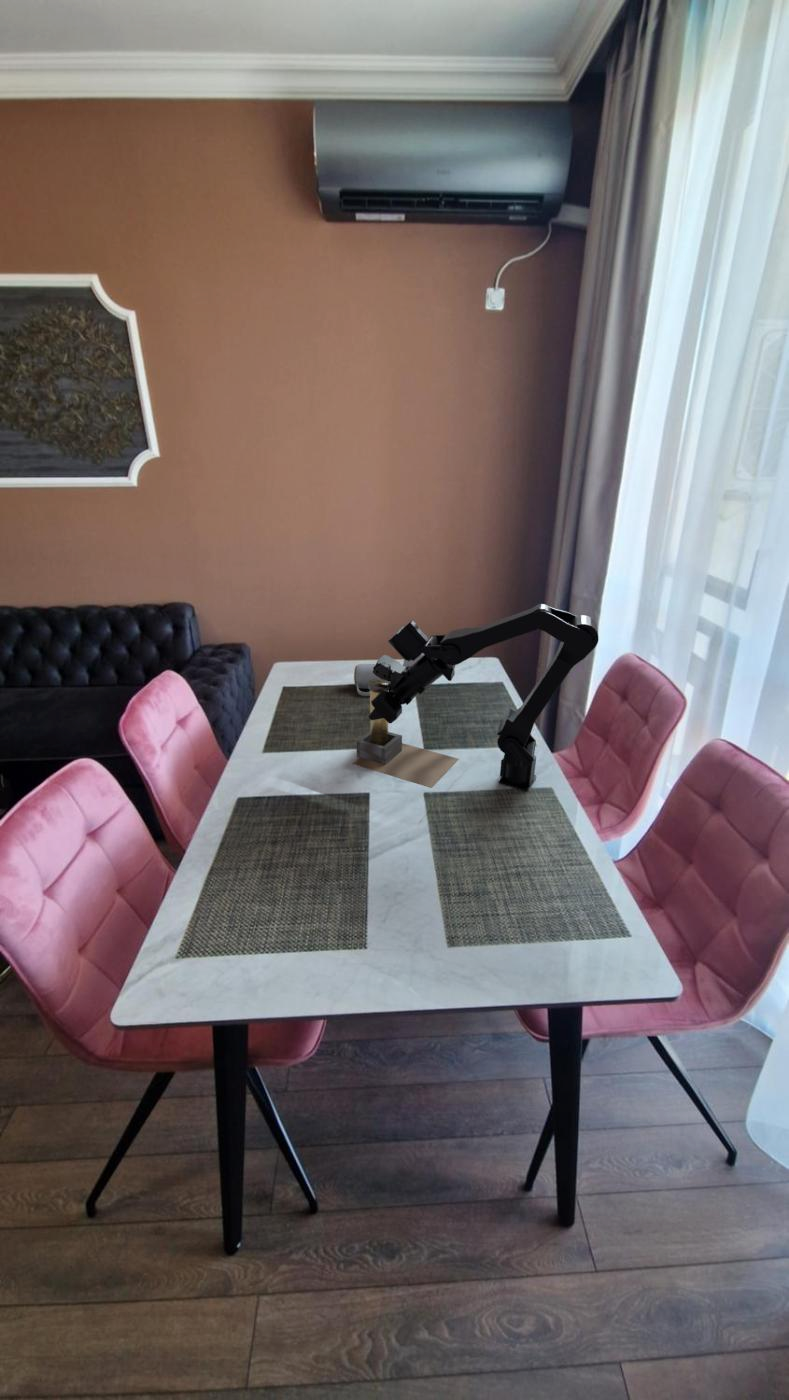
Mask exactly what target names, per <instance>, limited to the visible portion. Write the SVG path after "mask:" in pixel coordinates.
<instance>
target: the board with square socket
mask: <svg viewBox="0 0 789 1400" xmlns="http://www.w3.org/2000/svg"><path fill="white" fill-rule="evenodd" d="M356 757H358V759H356V760H354V762H352V763H351V764H352V765H355V766H358V767H362V768H364V769H368V770H372V771H375V772H379V773H381V774H384V775H388V776H392V777H394V778H398V779H400V780H404V781H408V782H412V783H415V784H418V785H421V786H424V787H428V788H432V789H433V788H434V786H436V784H437V783H438V782H439V781H440V780H441V779H443V777H444V776H445V775H446V774H447V773H448V771H450V770H451V768H452V767H453V766H455V764H456V763H457V762H458V761H459V760H460V758H458V757H454V756H450V755H447V754H443V753H439V752H436V751H432V750H428V749H424V748H421V747H419V746H418V747H417V746H414V745H411V744H410V745H409V744H408V743H407V744H406V743H403V735H402V734H398V733H395V732H390V731H388V741H387V742H385V743H374V742H372V741H371V730H370V731H368V732H367V733H365V734H364V735H363V736H362V737H360V738H359V739H357V740H356Z"/></svg>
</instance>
